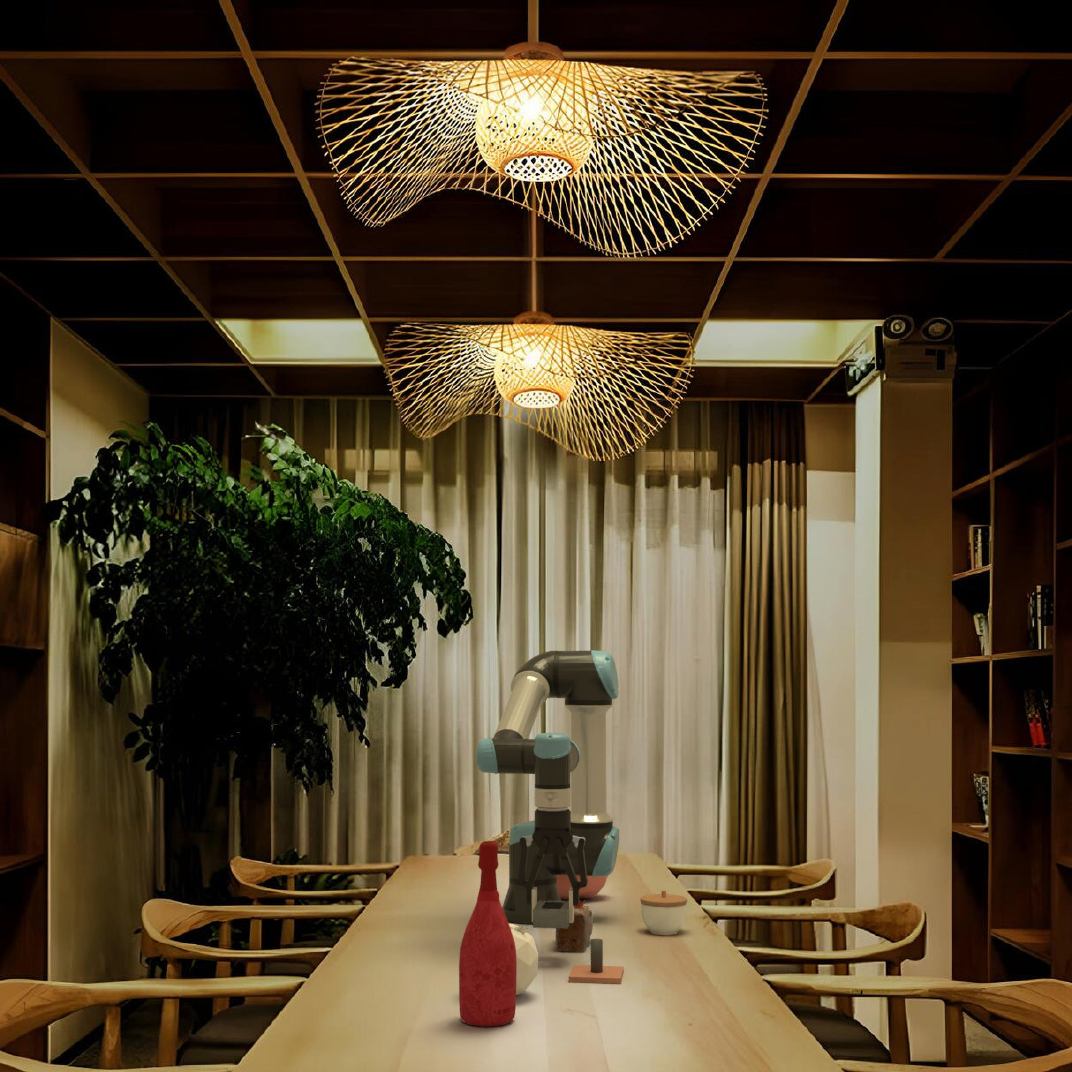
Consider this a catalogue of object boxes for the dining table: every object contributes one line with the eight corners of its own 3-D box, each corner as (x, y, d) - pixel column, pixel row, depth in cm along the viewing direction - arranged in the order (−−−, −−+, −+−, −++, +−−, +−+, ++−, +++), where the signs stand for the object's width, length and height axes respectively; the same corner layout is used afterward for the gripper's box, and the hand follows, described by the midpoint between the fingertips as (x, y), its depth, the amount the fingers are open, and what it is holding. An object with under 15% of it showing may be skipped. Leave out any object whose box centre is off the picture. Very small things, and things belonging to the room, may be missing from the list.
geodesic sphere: (565, 958, 235) (522, 897, 238) (549, 975, 222) (504, 910, 225) (506, 1002, 237) (464, 941, 240) (487, 1022, 223) (443, 956, 226)
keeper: (573, 970, 250) (573, 934, 251) (623, 971, 249) (623, 935, 250) (568, 982, 240) (568, 944, 241) (620, 983, 239) (620, 946, 240)
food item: (557, 939, 280) (557, 894, 281) (593, 940, 280) (593, 894, 281) (553, 952, 267) (554, 905, 268) (591, 953, 266) (591, 905, 267)
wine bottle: (481, 1010, 220) (483, 836, 223) (527, 1019, 214) (528, 840, 218) (446, 1022, 212) (448, 842, 215) (493, 1032, 206) (494, 846, 210)
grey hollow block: (539, 917, 264) (539, 900, 264) (572, 918, 263) (572, 901, 263) (532, 927, 254) (532, 909, 254) (567, 928, 253) (567, 910, 253)
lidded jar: (685, 938, 281) (685, 895, 282) (637, 936, 283) (637, 893, 284) (689, 928, 292) (688, 887, 293) (643, 926, 294) (643, 886, 295)
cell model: (612, 905, 322) (611, 860, 323) (534, 904, 322) (534, 860, 323) (609, 893, 338) (609, 851, 340) (535, 893, 339) (535, 850, 340)
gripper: (502, 809, 258) (502, 923, 256) (599, 811, 255) (599, 926, 253) (507, 805, 265) (507, 915, 263) (601, 806, 263) (602, 918, 261)
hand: (552, 920), depth 258 cm, fingers closed on grey hollow block, 7 cm apart
